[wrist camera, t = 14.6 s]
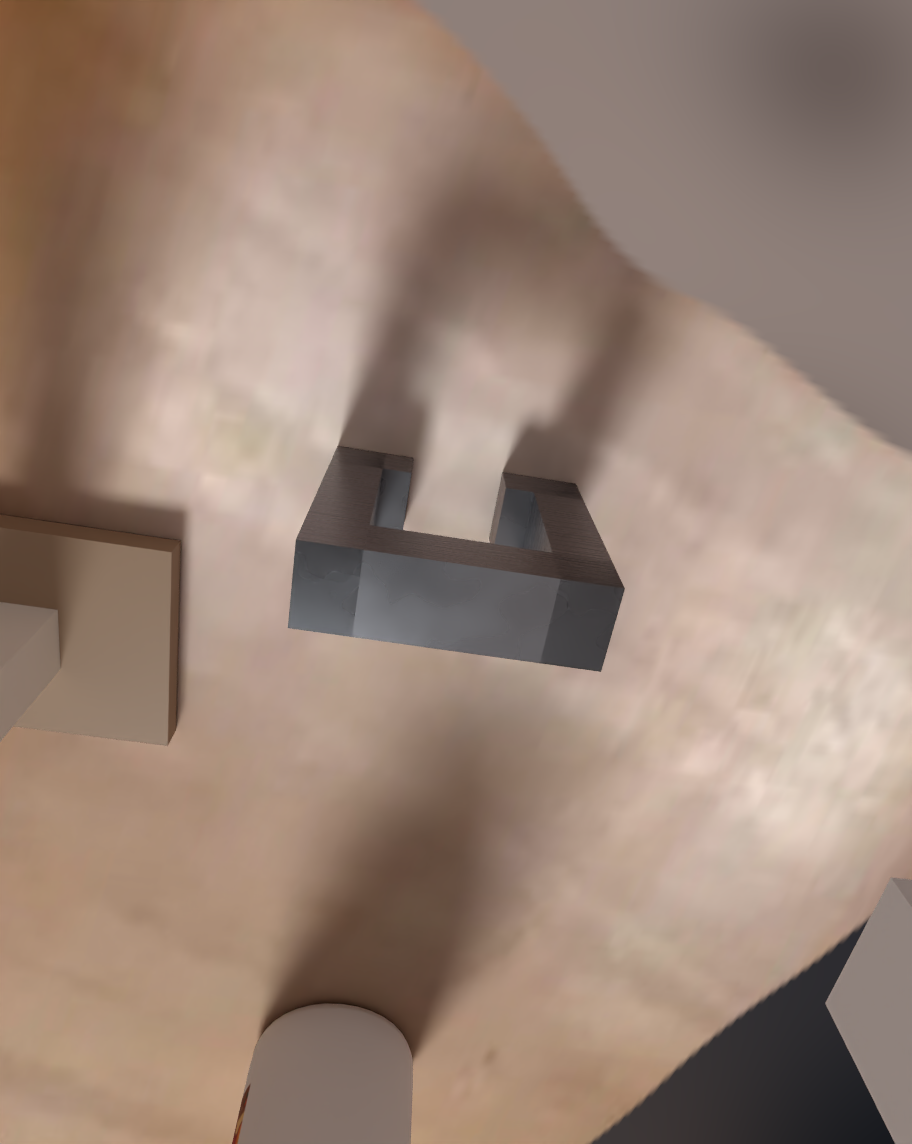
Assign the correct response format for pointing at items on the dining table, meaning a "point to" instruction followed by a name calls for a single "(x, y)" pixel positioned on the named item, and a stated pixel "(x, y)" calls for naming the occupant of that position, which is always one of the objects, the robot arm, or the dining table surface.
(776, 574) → the dining table surface
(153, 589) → the stand
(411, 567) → the c link
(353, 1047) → the milk bottle
